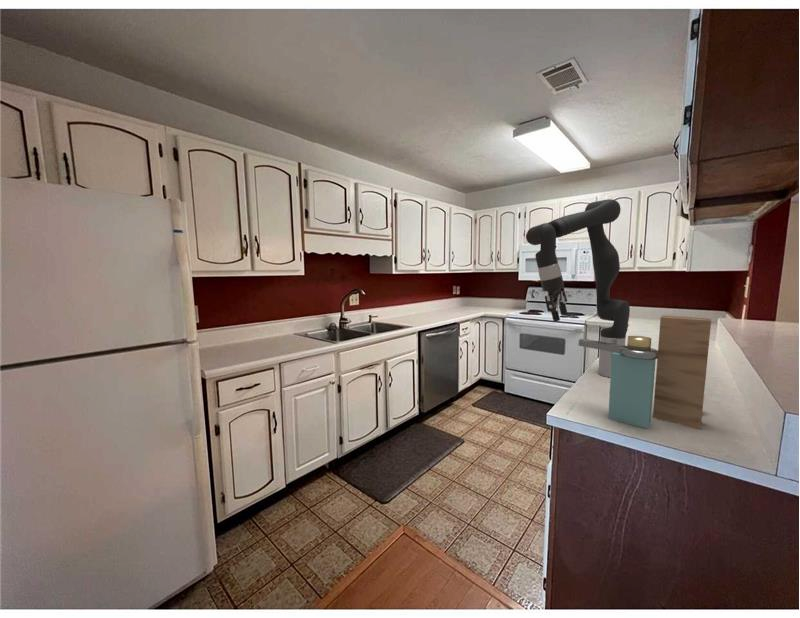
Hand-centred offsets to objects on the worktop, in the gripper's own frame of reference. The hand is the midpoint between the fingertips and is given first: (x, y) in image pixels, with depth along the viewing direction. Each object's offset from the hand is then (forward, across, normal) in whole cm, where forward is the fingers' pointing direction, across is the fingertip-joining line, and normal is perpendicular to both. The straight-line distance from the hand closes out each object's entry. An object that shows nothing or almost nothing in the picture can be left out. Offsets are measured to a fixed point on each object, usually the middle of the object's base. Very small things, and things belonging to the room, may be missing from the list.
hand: (560, 317), depth 122 cm
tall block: (+30, -18, -20) cm, 40 cm away
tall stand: (+34, -8, -30) cm, 46 cm away
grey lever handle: (+9, -14, -19) cm, 25 cm away
